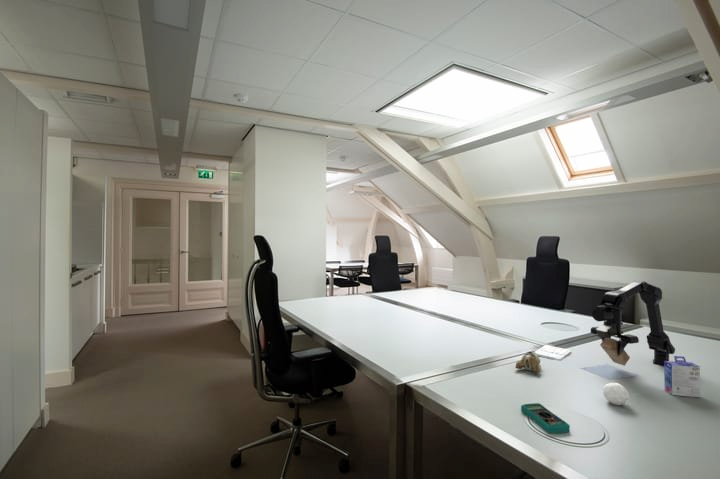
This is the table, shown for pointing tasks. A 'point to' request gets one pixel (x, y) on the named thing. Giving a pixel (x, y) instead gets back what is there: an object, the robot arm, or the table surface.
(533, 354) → the ceramic sculpture
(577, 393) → the table surface
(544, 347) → the calculator
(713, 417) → the table surface
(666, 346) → the robot arm
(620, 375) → the desk pad
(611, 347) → the walnut block
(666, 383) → the ink cartridge box
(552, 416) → the digital multimeter
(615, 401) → the geometric ball
